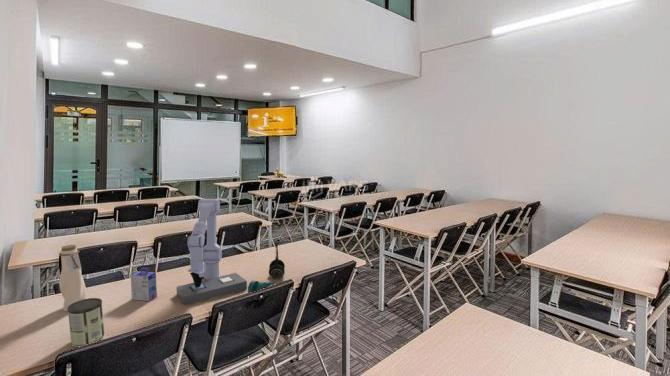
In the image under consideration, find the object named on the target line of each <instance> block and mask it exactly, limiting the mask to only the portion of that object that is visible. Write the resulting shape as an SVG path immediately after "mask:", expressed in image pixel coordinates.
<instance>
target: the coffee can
mask: <svg viewBox="0 0 670 376" xmlns="http://www.w3.org/2000/svg"><path fill="white" fill-rule="evenodd" d="M102 303H103V300H102V299H101V298H99V297H91V298H86V299H84V300H80V301H77V302H75V303H73V304H71V305H69V306H68V308H67V310H68V311H67V315H68V324H69V333H70V343H71V344H72V345H73V346H75V347H74V348H76V347H79V346H83V345H86V344H89V343H92V342H96V341H99V340H101V341H102V340H103V339H104V338H105V336H106V335H105V327H104V315H103V313H104V312H103V304H102ZM99 342H100V341H99ZM72 345H71V346H72ZM73 346H72V347H73Z"/></svg>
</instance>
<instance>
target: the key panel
mask: <svg viewBox="0 0 670 376" xmlns="http://www.w3.org/2000/svg"><path fill="white" fill-rule="evenodd" d="M226 277H230V278H231V279H232V280H233V282H229V283H225V284H221V283H220V279H222V278H226ZM201 283H202V284H203V285H204V287H205V289H201V290H197V291H192V290H191V286H193V285H194V282H191V283H186V284H181V285H178V286H176V295H177V296H178V298H179V300H180V301H181V302H182V303H183V305H184V306H187V305H190V304H191V305H192V304H195V303H198V302H202V301H206V300H210V299H212V298H213V299H214V298H217V297H221V296H225V295H228V294H232V293H235V292H239V291H243V290H248V281H247V280H246V279H245V278H243V276H241V275H240V274H238V273H237V272H234V273H233V272H232V273H230V274H225V275H221V276H220V277H216V278H211V279H207V280H206V279H204V280H203V279H202V281H201Z"/></svg>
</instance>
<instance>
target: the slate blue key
mask: <svg viewBox="0 0 670 376" xmlns="http://www.w3.org/2000/svg"><path fill="white" fill-rule="evenodd" d="M201 289H205V287H204V285H203V284H202V283H201V286H200V287H195V285H193V286H191V290H192V291H197V290H201Z"/></svg>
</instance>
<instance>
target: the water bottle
mask: <svg viewBox="0 0 670 376" xmlns="http://www.w3.org/2000/svg"><path fill="white" fill-rule="evenodd" d="M80 251H81V250H79V249H77V247H76V245H75V244H67V245H64V246H61V250H60V252H59V253H58V255H59V256H60V258H61V259H60V260H61V272H60V276H59V284H58V286H59V291H60V294H61V296H62V297H63V299H64V300H63V308H62V309H63V311H64V312H68V310H67V308H68V306H69V305H71V304H73V303H75V302H77V301H80V300H84V299H87V288H86V284H85V281H84V278H83V275H82V265H81V260H80V256H79V253H80Z"/></svg>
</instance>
